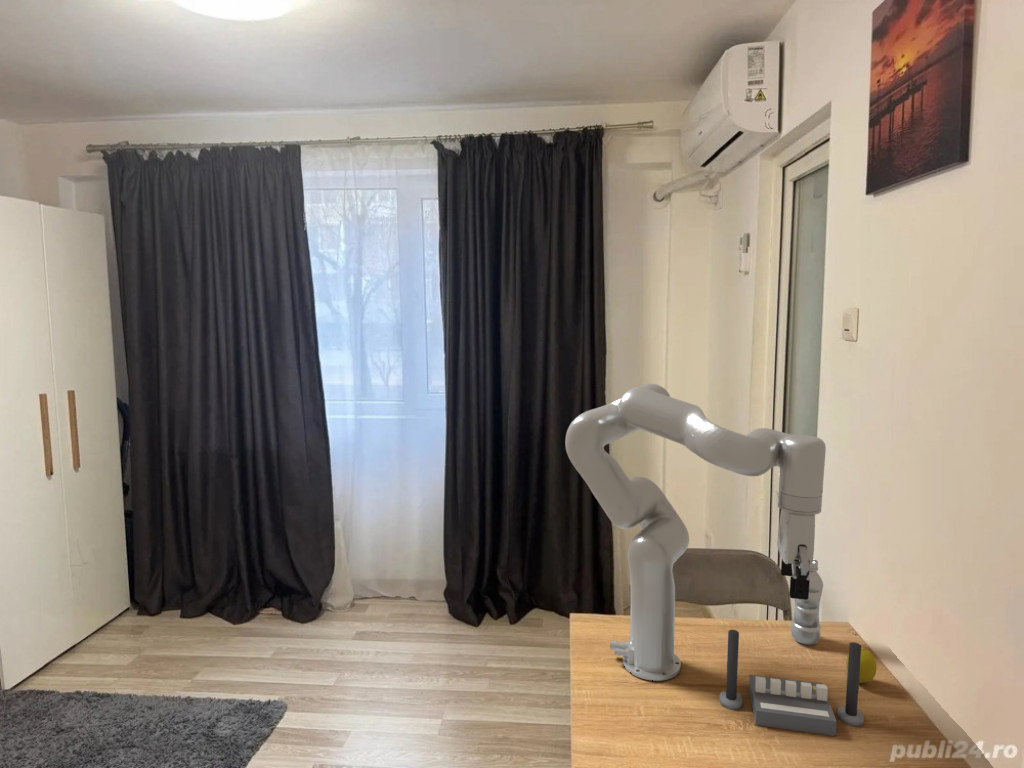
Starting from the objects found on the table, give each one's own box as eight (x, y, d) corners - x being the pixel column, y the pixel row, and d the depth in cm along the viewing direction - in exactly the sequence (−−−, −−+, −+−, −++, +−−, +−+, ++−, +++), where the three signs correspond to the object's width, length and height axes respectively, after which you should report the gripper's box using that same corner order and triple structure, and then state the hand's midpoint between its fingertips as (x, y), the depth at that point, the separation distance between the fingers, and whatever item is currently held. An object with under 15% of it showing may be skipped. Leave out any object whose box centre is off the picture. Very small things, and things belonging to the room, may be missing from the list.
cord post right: (841, 724, 123) (846, 649, 120) (835, 710, 127) (839, 637, 125) (866, 727, 122) (871, 652, 120) (859, 713, 126) (864, 640, 124)
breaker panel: (755, 724, 123) (756, 709, 122) (748, 687, 134) (749, 673, 134) (835, 736, 119) (836, 720, 119) (821, 696, 131) (822, 682, 130)
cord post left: (720, 708, 128) (722, 636, 126) (718, 694, 132) (721, 625, 130) (743, 711, 127) (746, 639, 125) (741, 697, 131) (744, 627, 129)
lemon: (879, 692, 132) (881, 656, 131) (849, 689, 133) (852, 653, 132) (869, 676, 138) (872, 641, 136) (842, 673, 139) (844, 639, 138)
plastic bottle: (818, 636, 154) (822, 556, 151) (821, 650, 148) (826, 568, 145) (789, 631, 156) (793, 553, 153) (791, 646, 150) (795, 564, 147)
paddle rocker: (755, 692, 127) (755, 679, 127) (754, 689, 128) (754, 676, 128) (827, 701, 124) (828, 688, 124) (826, 698, 125) (826, 685, 125)
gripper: (771, 485, 130) (766, 565, 133) (786, 514, 113) (780, 605, 116) (811, 488, 128) (805, 569, 131) (832, 518, 112) (825, 610, 114)
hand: (793, 586), depth 123 cm, fingers open, 9 cm apart
